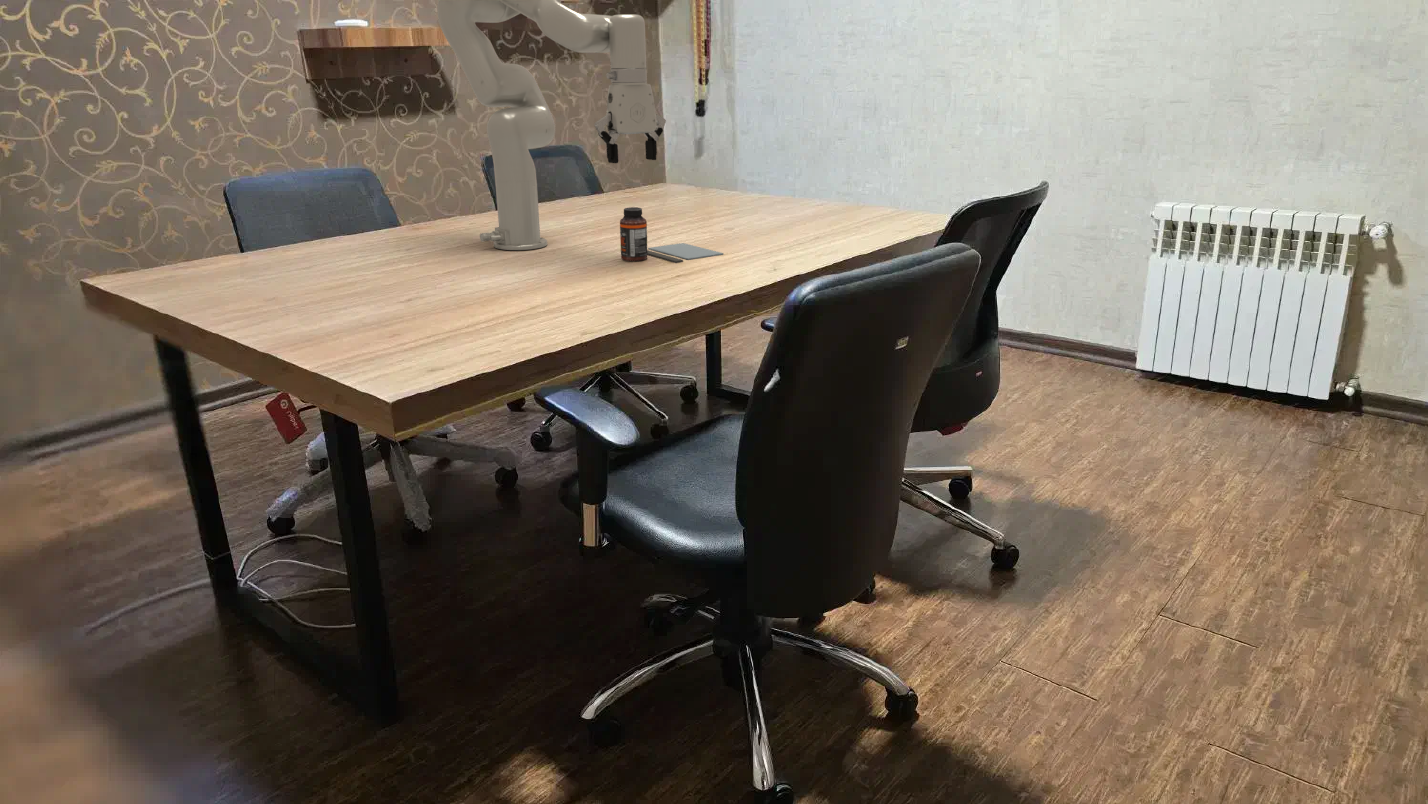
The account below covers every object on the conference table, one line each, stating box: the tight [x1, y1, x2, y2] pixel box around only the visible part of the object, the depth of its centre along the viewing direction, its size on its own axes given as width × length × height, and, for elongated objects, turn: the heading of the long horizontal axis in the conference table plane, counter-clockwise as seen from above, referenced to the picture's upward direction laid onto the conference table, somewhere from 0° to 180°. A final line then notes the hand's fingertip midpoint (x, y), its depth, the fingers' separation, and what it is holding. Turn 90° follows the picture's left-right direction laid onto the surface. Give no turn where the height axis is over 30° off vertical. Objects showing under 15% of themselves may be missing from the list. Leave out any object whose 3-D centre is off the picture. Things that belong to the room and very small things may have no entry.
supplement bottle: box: [619, 206, 648, 263], centre depth 214 cm, size 6×6×11 cm
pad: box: [647, 242, 724, 261], centre depth 224 cm, size 10×16×1 cm, turn 37°
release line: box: [647, 249, 684, 264], centre depth 220 cm, size 2×18×1 cm, turn 37°
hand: (632, 161), depth 209 cm, fingers open, 9 cm apart
